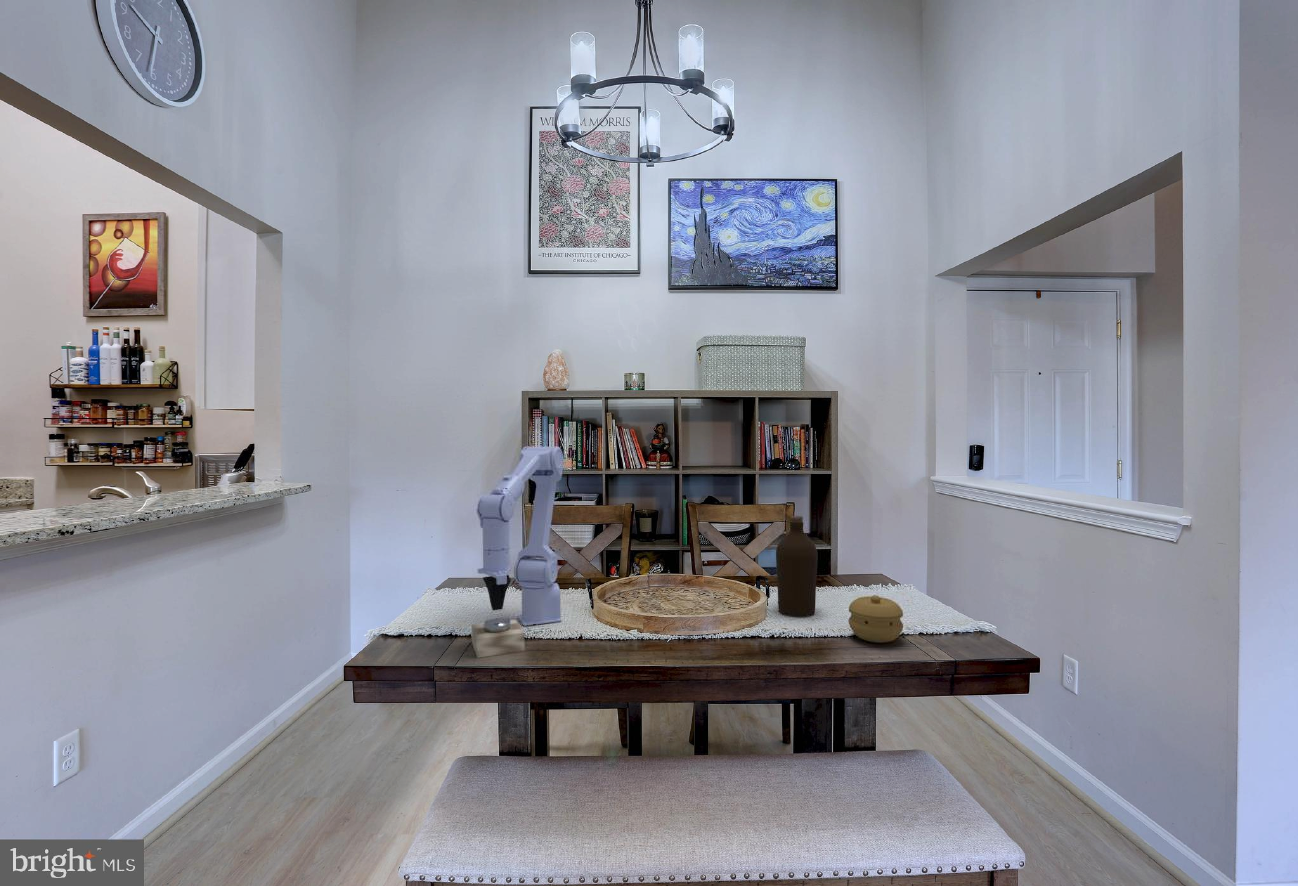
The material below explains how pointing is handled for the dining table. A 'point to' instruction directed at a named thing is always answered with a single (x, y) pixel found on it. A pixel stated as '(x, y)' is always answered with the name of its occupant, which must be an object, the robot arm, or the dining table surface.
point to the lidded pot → (875, 619)
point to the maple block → (497, 640)
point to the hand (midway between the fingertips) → (497, 609)
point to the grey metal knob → (497, 625)
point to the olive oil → (796, 572)
